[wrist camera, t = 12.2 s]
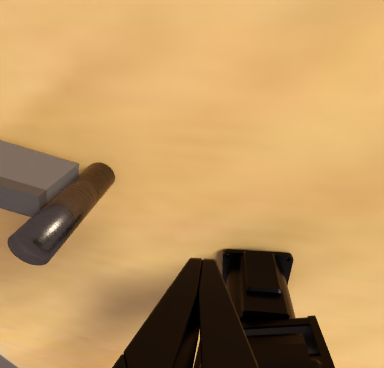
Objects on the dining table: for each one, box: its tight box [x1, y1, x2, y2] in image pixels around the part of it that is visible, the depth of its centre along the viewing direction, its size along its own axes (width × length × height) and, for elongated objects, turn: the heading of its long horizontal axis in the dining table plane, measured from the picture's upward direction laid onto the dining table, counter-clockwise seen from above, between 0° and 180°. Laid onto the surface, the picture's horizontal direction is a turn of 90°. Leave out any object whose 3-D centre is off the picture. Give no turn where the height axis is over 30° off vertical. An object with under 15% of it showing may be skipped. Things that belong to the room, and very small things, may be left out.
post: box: [8, 163, 115, 265], centre depth 17 cm, size 2×2×9 cm
